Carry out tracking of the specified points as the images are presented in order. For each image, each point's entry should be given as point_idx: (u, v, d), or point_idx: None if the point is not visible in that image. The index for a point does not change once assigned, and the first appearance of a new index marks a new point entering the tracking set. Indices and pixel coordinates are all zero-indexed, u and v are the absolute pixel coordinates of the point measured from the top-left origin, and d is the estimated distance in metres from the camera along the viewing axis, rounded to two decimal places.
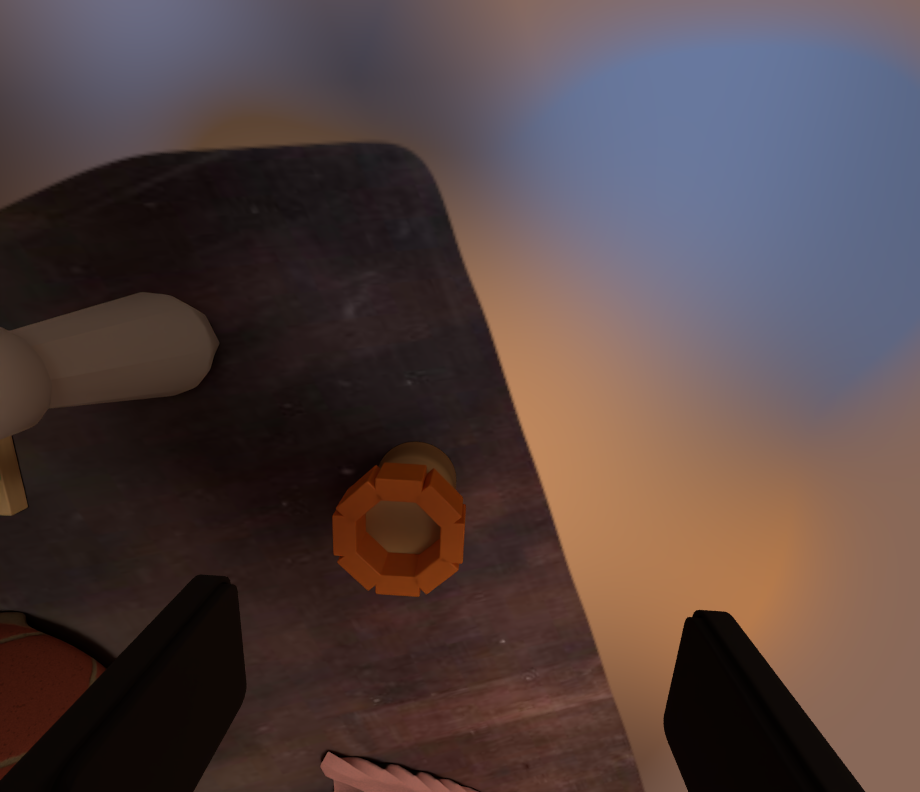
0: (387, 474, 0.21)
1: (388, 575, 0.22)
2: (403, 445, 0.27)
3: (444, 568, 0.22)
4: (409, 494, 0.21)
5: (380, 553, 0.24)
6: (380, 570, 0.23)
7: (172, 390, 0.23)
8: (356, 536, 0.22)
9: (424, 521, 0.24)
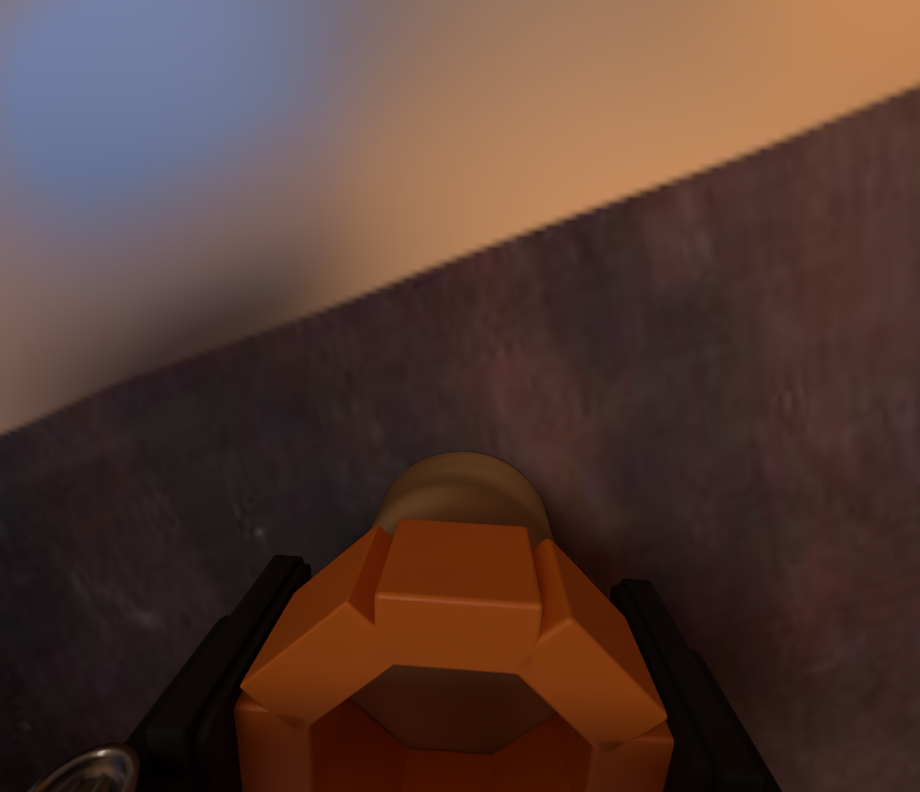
0: None
1: None
2: None
3: (560, 663, 0.06)
4: (280, 741, 0.07)
5: (545, 752, 0.08)
6: None
7: None
8: None
9: None
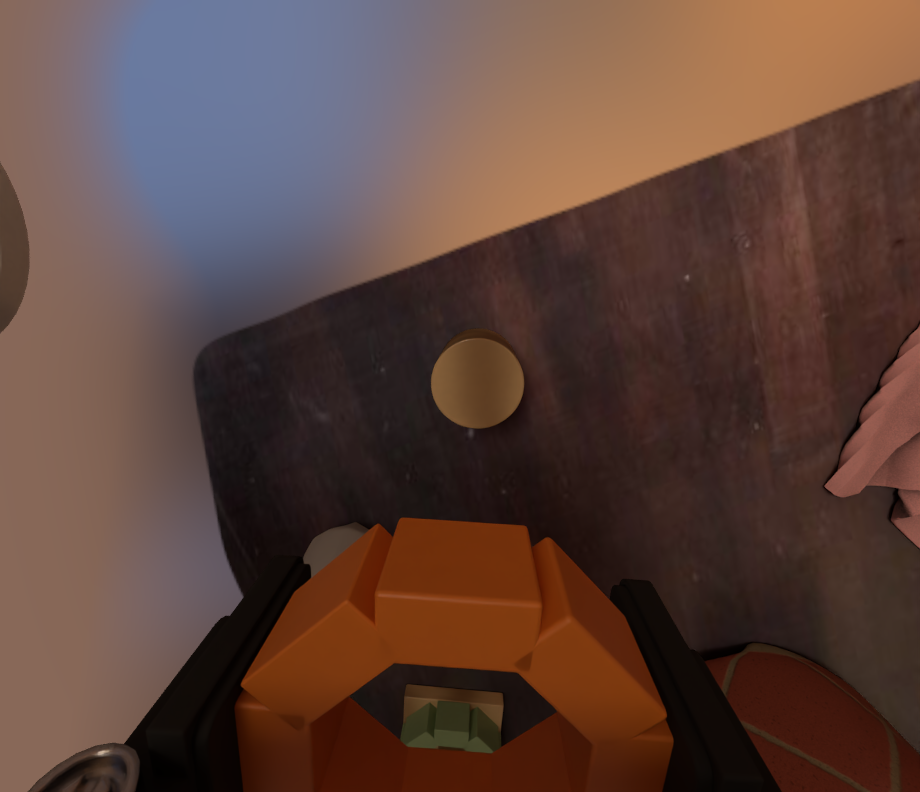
0: None
1: None
2: None
3: (559, 661, 0.06)
4: (281, 740, 0.07)
5: (545, 751, 0.08)
6: None
7: None
8: None
9: (480, 365, 0.24)
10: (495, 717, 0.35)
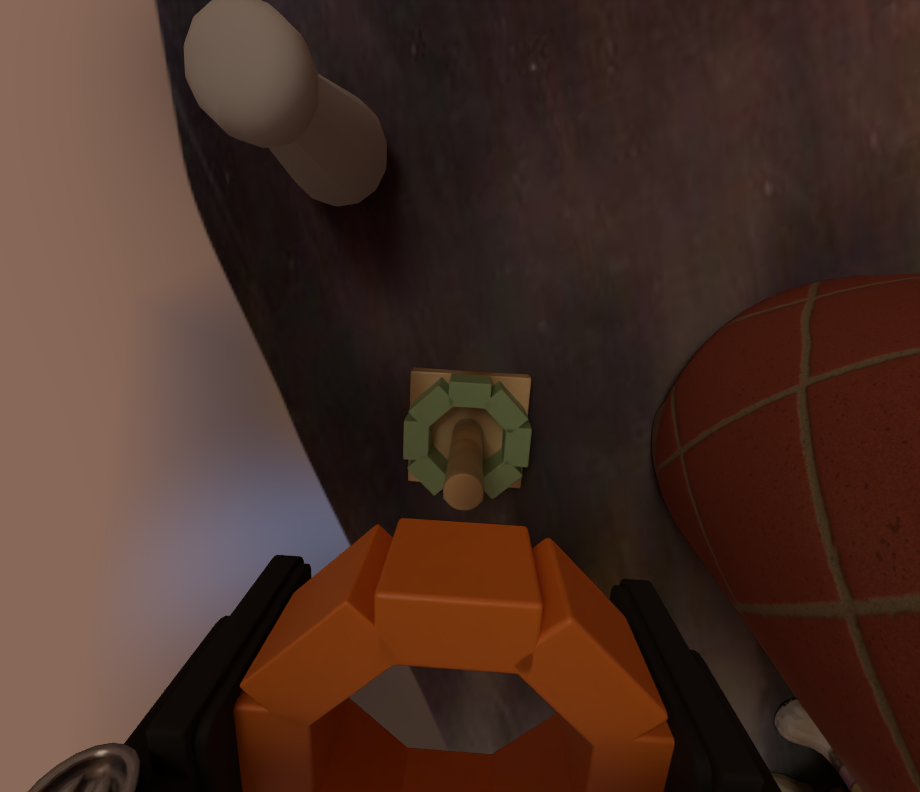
0: None
1: None
2: None
3: (560, 662, 0.06)
4: (280, 742, 0.07)
5: (545, 752, 0.08)
6: None
7: (366, 110, 0.22)
8: None
9: None
10: (521, 396, 0.29)
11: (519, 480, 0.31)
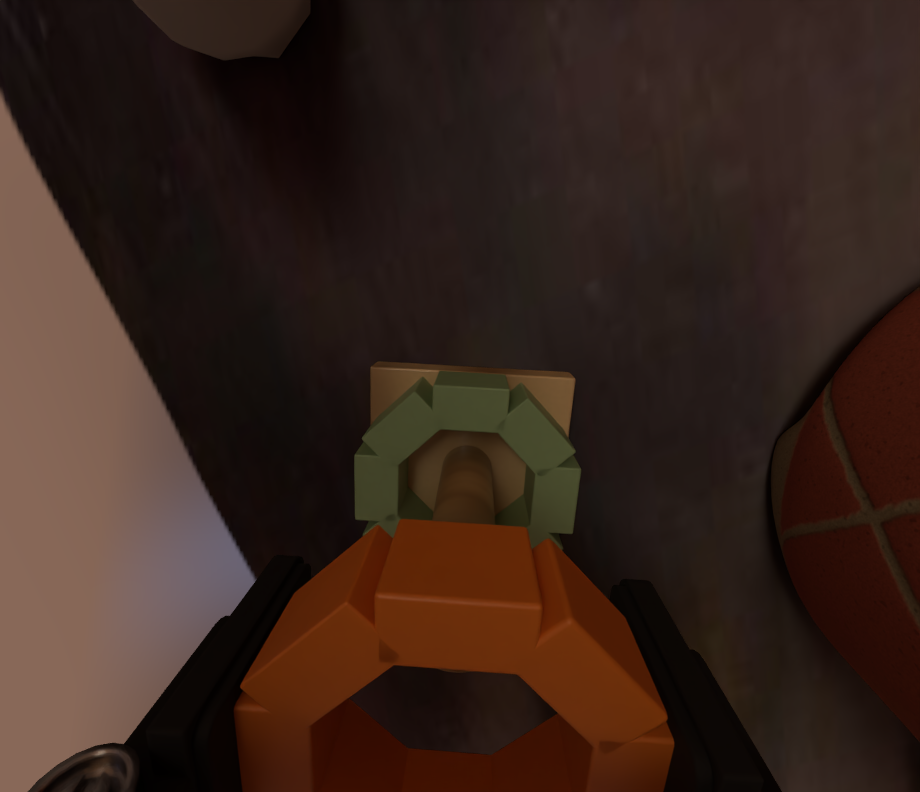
0: None
1: None
2: None
3: (560, 663, 0.06)
4: (280, 743, 0.07)
5: (545, 752, 0.08)
6: None
7: None
8: None
9: None
10: (558, 408, 0.17)
11: None
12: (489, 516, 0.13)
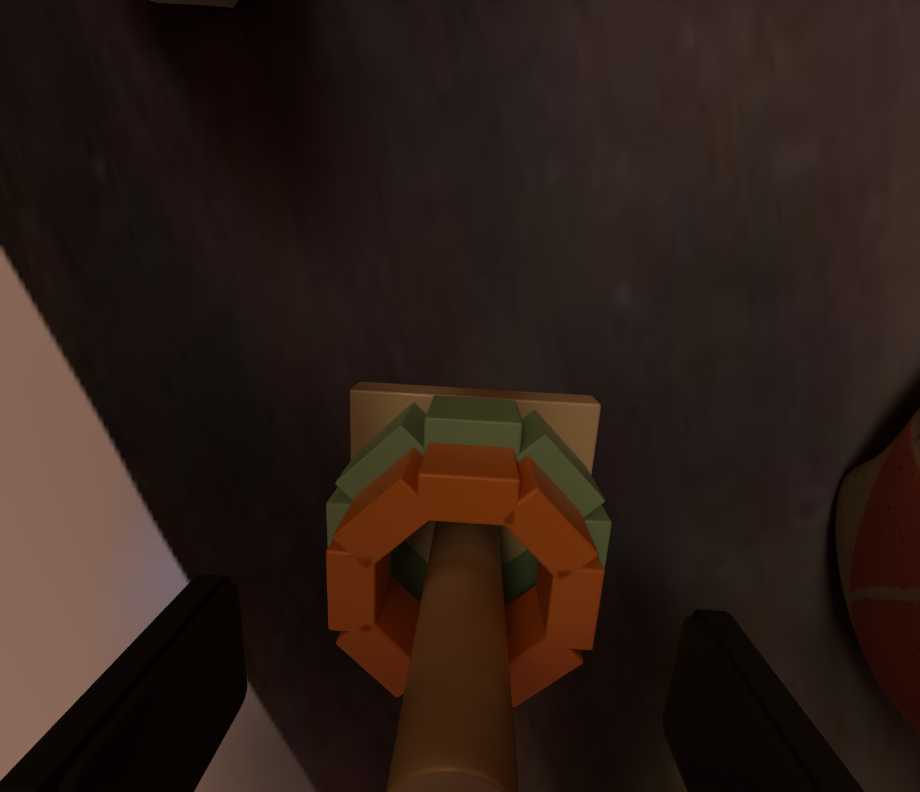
0: None
1: (547, 623, 0.11)
2: None
3: (531, 517, 0.10)
4: (355, 576, 0.10)
5: (526, 606, 0.12)
6: (540, 632, 0.11)
7: None
8: None
9: None
10: (579, 441, 0.14)
11: None
12: (496, 595, 0.10)
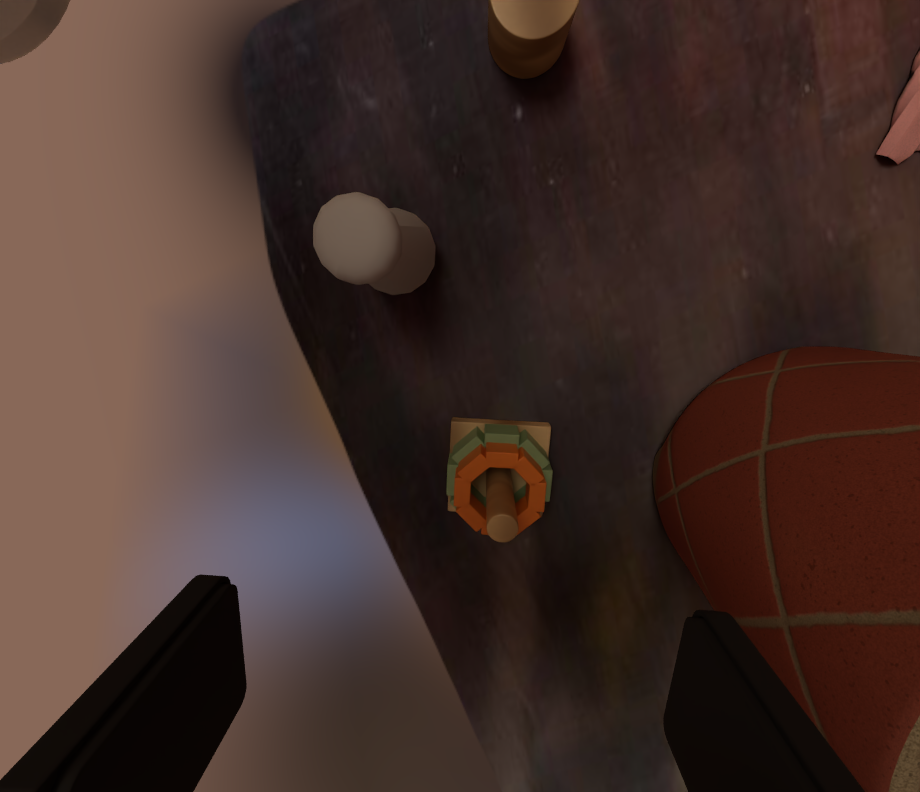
0: None
1: (528, 502, 0.31)
2: (489, 44, 0.29)
3: (522, 465, 0.31)
4: (464, 486, 0.31)
5: (521, 501, 0.33)
6: (526, 506, 0.32)
7: (422, 227, 0.29)
8: None
9: None
10: (542, 441, 0.35)
11: None
12: (511, 491, 0.31)
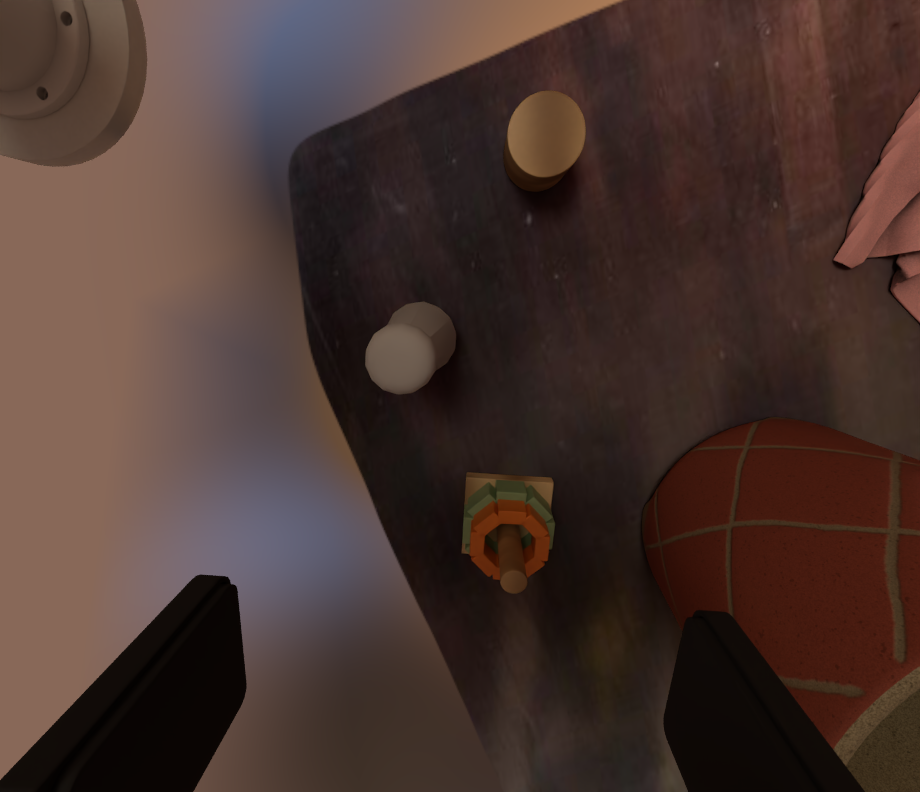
0: None
1: (534, 553, 0.36)
2: (504, 164, 0.34)
3: (529, 522, 0.36)
4: (479, 539, 0.36)
5: (528, 550, 0.38)
6: (532, 556, 0.37)
7: (446, 322, 0.33)
8: None
9: (549, 115, 0.29)
10: (546, 495, 0.40)
11: None
12: (520, 544, 0.36)
